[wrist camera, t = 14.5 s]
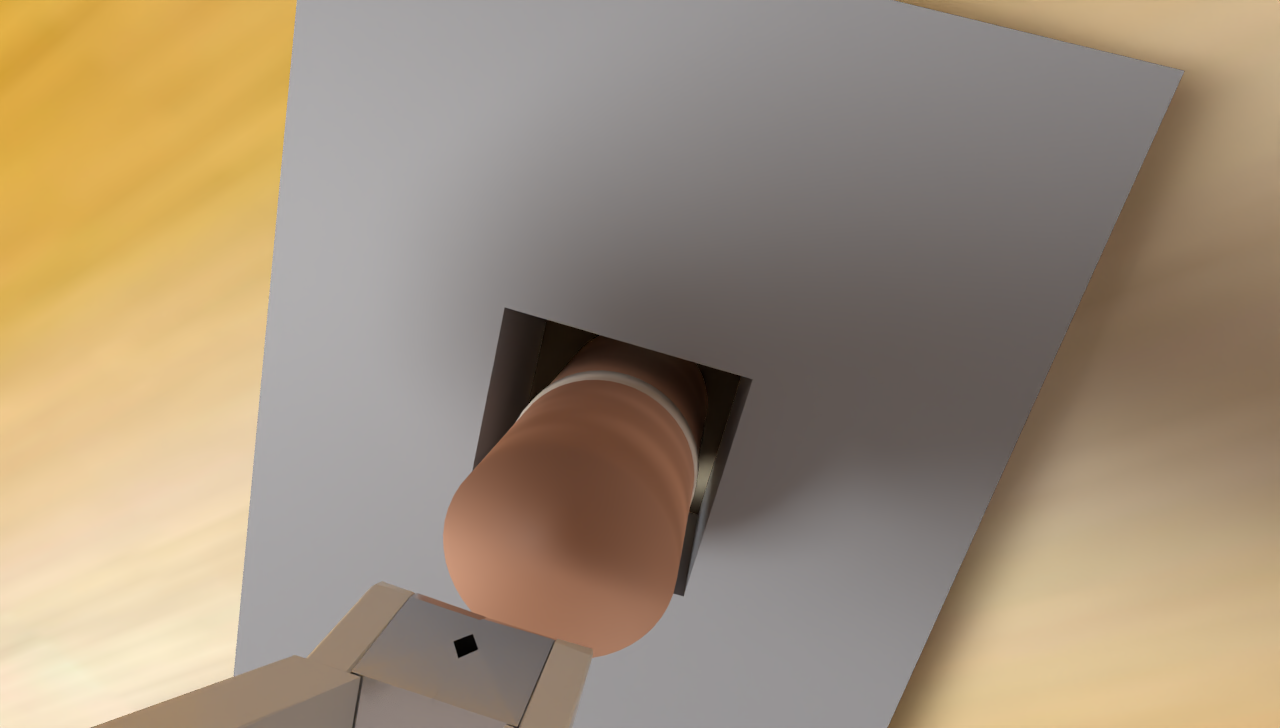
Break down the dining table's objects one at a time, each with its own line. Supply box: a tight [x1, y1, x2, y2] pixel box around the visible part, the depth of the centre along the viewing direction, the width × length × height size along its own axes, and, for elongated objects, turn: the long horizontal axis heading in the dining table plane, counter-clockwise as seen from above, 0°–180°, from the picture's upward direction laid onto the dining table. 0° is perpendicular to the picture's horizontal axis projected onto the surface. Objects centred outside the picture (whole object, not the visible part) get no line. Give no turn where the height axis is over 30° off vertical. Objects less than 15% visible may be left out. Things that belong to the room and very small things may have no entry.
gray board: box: [234, 0, 1184, 728], centre depth 18 cm, size 16×20×4 cm
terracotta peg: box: [443, 335, 708, 658], centre depth 16 cm, size 4×4×8 cm
